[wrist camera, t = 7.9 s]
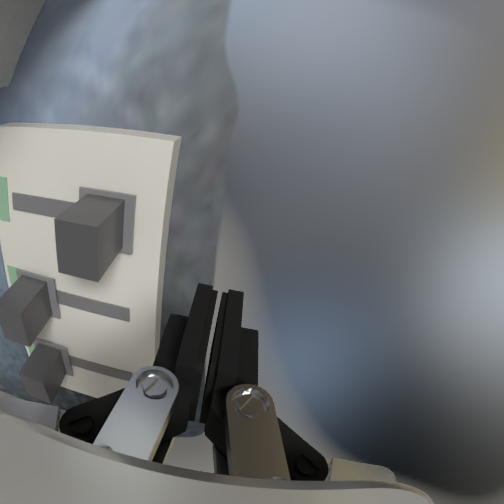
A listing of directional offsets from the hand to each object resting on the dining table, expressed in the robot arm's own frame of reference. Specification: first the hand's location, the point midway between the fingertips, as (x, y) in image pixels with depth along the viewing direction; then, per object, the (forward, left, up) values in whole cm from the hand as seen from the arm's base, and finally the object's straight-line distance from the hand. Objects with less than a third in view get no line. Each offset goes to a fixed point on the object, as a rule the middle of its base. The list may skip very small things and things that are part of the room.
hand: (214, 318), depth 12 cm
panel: (-11, +5, -9) cm, 16 cm away
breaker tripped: (-4, +6, -7) cm, 10 cm away
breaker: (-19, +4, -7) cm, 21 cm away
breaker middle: (-13, +8, -7) cm, 17 cm away
